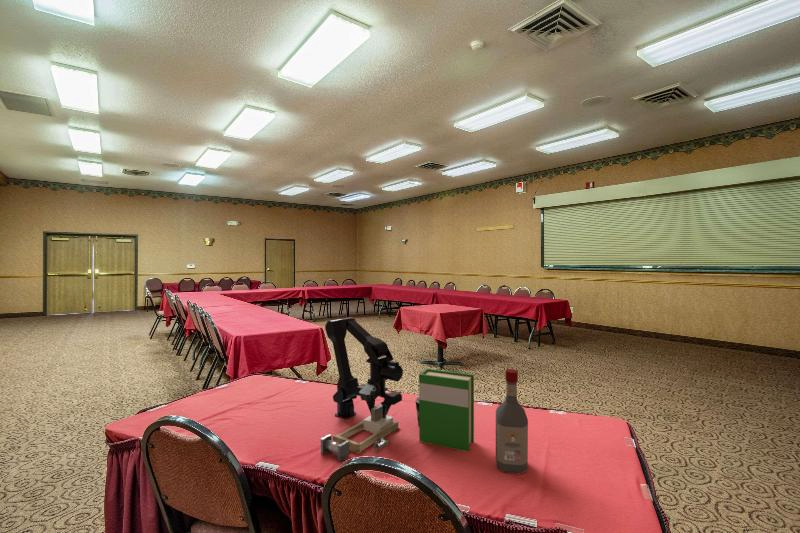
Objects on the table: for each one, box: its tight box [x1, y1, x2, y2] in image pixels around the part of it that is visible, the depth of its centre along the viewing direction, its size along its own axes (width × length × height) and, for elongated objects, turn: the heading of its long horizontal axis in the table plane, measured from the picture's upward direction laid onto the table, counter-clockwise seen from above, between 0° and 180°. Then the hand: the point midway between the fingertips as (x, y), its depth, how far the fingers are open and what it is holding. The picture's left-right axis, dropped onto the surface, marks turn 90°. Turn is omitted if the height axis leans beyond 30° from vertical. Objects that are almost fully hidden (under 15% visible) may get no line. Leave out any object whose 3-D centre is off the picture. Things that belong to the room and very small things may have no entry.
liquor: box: [495, 368, 529, 474], centre depth 122 cm, size 9×9×30 cm
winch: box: [320, 433, 350, 462], centre depth 129 cm, size 9×4×5 cm, turn 54°
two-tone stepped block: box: [362, 403, 394, 434], centre depth 148 cm, size 8×8×8 cm
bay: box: [332, 420, 399, 454], centre depth 143 cm, size 11×23×3 cm, turn 144°
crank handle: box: [373, 437, 389, 451], centre depth 136 cm, size 6×4×3 cm
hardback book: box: [418, 368, 475, 453], centre depth 137 cm, size 18×7×24 cm, turn 65°
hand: (378, 416), depth 148 cm, fingers open, 6 cm apart
